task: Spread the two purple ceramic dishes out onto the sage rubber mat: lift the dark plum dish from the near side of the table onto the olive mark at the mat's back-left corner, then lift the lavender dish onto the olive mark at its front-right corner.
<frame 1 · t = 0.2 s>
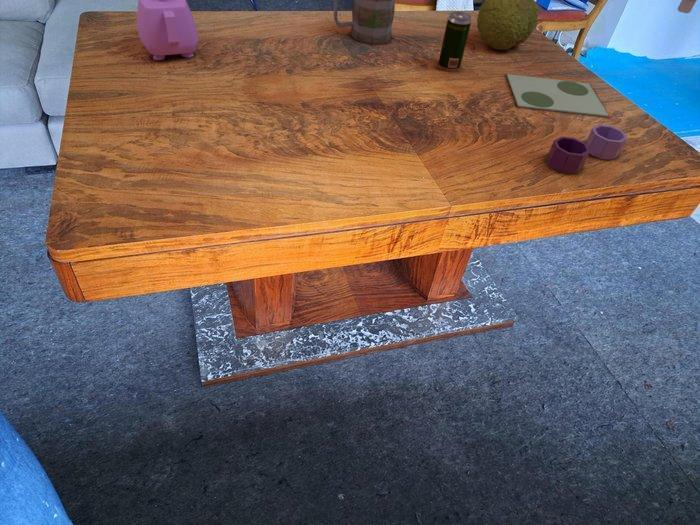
hand: (686, 4, 79), 28 cm above the table, tool pointing down, fingers open, 8 cm apart
mat: (554, 95, 117), on the table
plum dish: (563, 164, 96), on the table
beer can: (448, 68, 123), on the table
teapot: (170, 51, 117), on the table
mug: (361, 36, 133), on the table
lavender dish: (600, 150, 101), on the table
fruit: (498, 46, 136), on the table
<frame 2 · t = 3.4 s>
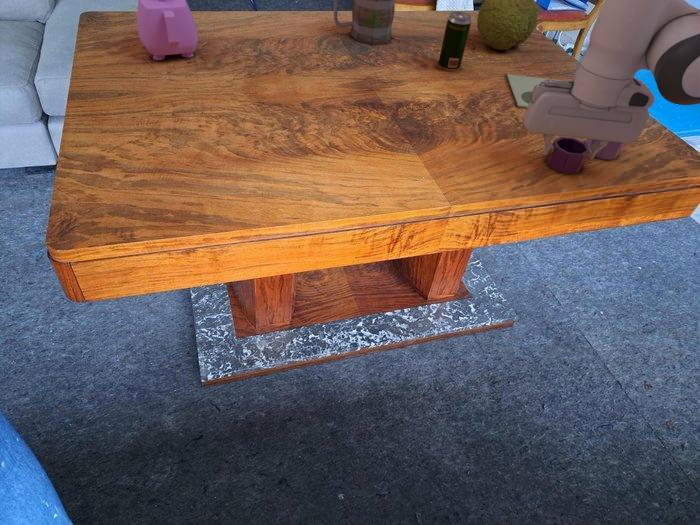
hand: (567, 155, 95), 2 cm above the table, tool pointing down, fingers closed on plum dish, 6 cm apart
plum dish: (563, 164, 96), on the table, touching gripper
everything else where it was.
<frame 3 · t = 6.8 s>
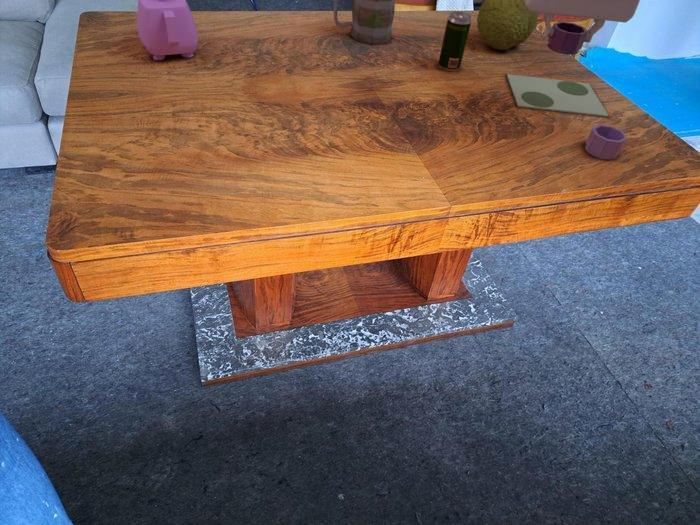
hand: (566, 39, 101), 15 cm above the table, tool pointing down, fingers closed on plum dish, 6 cm apart
plum dish: (562, 48, 102), point 13 cm above the table, touching gripper
everything else where it was.
when the fingers open (2 cm above the table, at t = 10.3 s): plum dish stays where it is, resting on mat.
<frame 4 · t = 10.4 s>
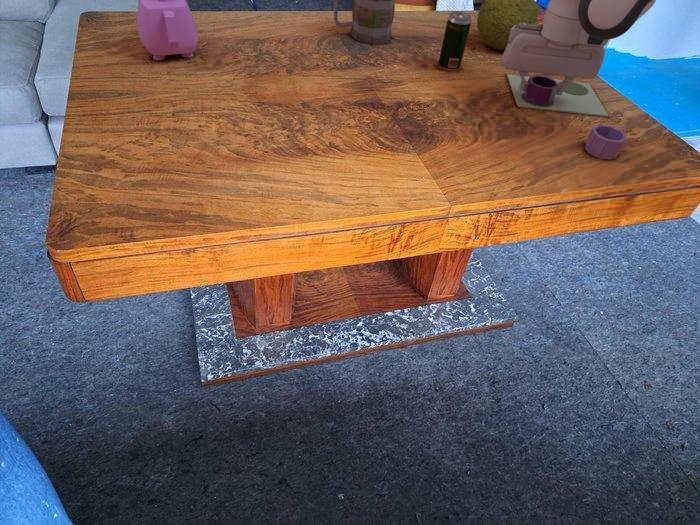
hand: (539, 91, 113), 2 cm above the table, tool pointing down, fingers open, 6 cm apart
plum dish: (537, 99, 114), point 1 cm above the table, touching mat
everything else where it was.
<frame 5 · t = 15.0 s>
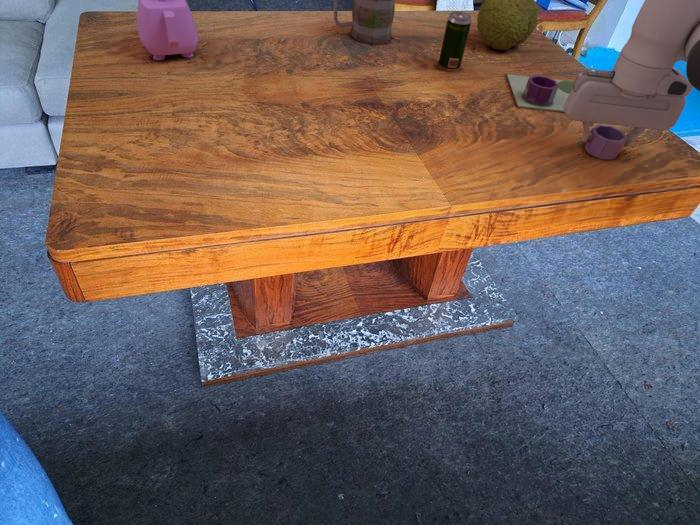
hand: (604, 142, 99), 2 cm above the table, tool pointing down, fingers closed on lavender dish, 6 cm apart
lavender dish: (600, 151, 101), on the table, touching gripper
everything else where it was.
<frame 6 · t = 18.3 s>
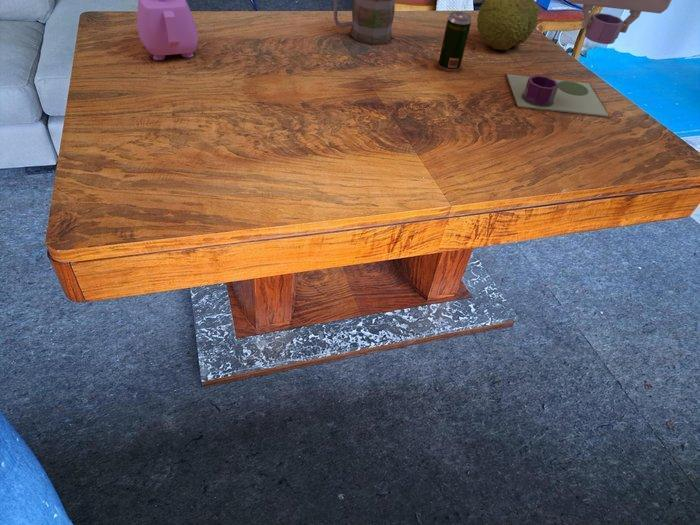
hand: (603, 29, 107), 15 cm above the table, tool pointing down, fingers closed on lavender dish, 6 cm apart
lavender dish: (599, 38, 108), point 13 cm above the table, touching gripper
everything else where it was.
when the fingers open (2 cm above the table, at t = 21.8 s): lavender dish stays where it is, resting on mat.
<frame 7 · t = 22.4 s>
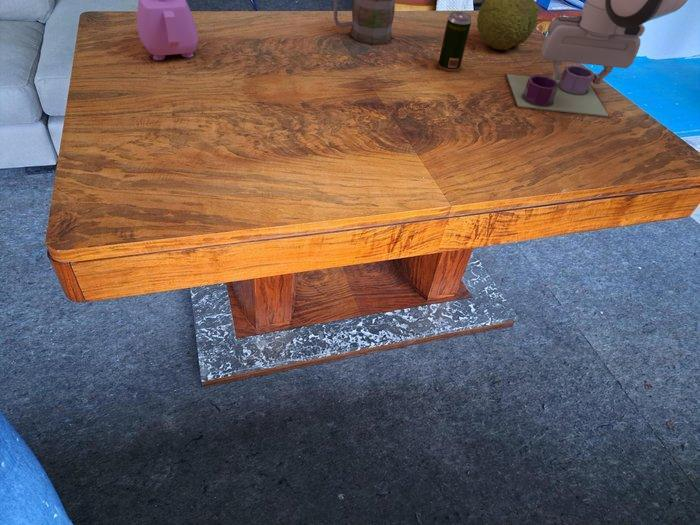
hand: (575, 81, 118), 2 cm above the table, tool pointing down, fingers open, 8 cm apart
lavender dish: (572, 88, 120), resting on mat
everything else where it was.
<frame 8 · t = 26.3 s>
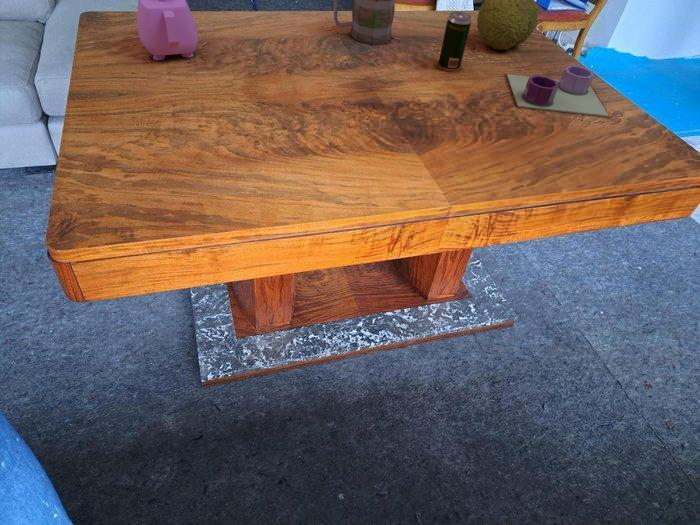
nothing on the table moved.
at the end: plum dish 0.0 cm from the target spot on the mat, point 0.5 cm above the mat's base; lavender dish 0.1 cm from the target spot on the mat, point 0.5 cm above the mat's base; lavender dish tilted 0° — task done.
